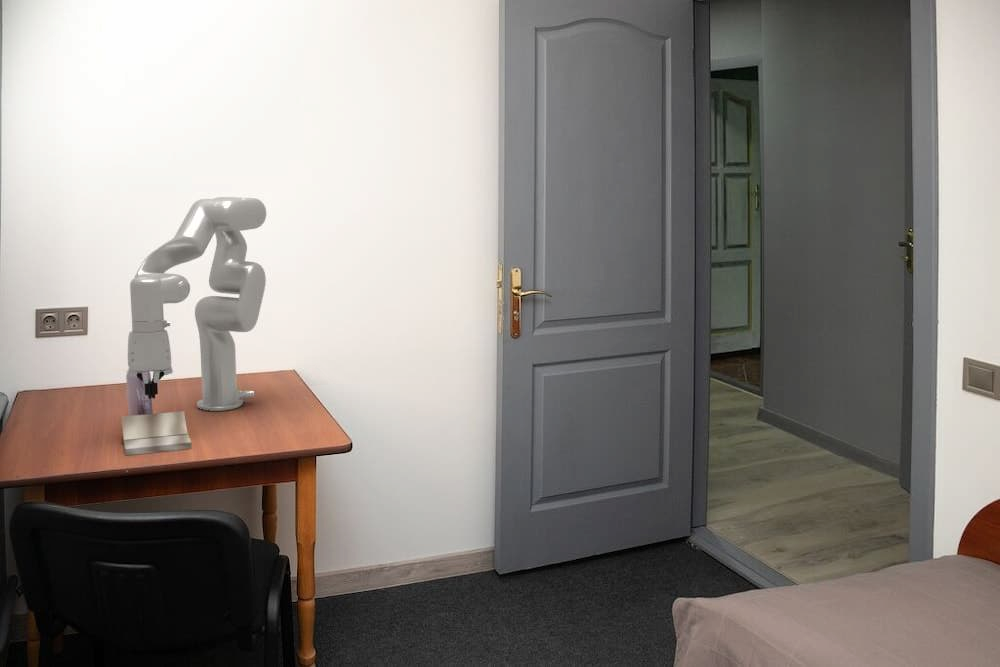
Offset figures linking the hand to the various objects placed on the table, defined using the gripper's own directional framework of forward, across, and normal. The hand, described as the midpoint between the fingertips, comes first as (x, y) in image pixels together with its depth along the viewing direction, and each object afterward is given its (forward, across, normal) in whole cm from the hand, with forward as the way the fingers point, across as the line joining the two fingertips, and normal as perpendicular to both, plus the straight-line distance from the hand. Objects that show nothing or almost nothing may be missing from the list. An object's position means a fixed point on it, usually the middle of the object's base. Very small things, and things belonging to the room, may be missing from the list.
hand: (151, 397), depth 238 cm
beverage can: (+10, +2, -10) cm, 14 cm away
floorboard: (+10, 0, +11) cm, 15 cm away
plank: (+8, 0, +2) cm, 8 cm away
